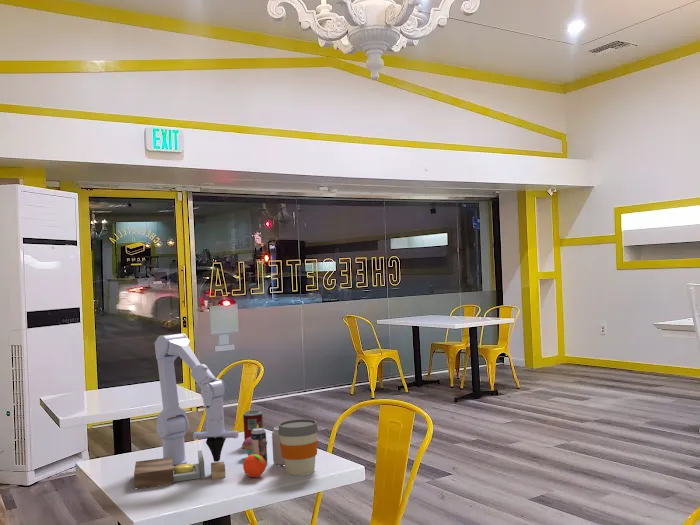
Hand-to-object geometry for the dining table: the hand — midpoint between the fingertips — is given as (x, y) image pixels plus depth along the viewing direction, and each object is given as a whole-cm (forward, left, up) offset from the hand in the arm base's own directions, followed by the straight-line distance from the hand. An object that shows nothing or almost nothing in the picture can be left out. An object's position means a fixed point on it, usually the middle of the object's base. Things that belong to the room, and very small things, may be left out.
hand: (217, 460), depth 214 cm
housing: (0, -19, -3) cm, 20 cm away
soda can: (-30, +16, -4) cm, 34 cm away
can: (+1, +22, -4) cm, 22 cm away
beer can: (0, +14, -4) cm, 14 cm away
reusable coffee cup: (+12, +25, -4) cm, 28 cm away
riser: (+6, 0, -3) cm, 7 cm away
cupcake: (-12, +14, -4) cm, 19 cm away
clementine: (+12, +11, -4) cm, 17 cm away
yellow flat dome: (0, -11, -2) cm, 11 cm away
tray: (0, -10, -3) cm, 11 cm away
